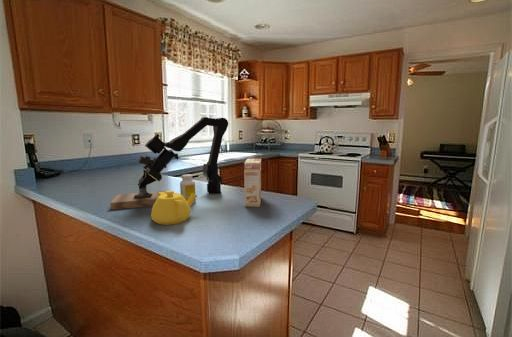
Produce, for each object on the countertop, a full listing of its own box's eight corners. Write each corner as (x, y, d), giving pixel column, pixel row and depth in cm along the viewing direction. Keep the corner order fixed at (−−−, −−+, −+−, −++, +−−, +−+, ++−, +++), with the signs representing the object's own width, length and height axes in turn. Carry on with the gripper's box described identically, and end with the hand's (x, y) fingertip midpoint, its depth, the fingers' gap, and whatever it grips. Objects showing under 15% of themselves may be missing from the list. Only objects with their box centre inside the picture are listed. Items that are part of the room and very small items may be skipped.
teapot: (211, 218, 101) (210, 190, 99) (165, 232, 88) (163, 200, 86) (184, 206, 115) (183, 182, 113) (142, 217, 102) (140, 189, 101)
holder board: (170, 196, 132) (170, 190, 131) (170, 204, 118) (169, 198, 118) (118, 200, 125) (117, 194, 124) (111, 209, 111) (110, 202, 111)
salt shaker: (136, 201, 123) (134, 176, 121) (149, 199, 126) (147, 174, 123) (137, 204, 118) (135, 178, 116) (151, 202, 120) (149, 177, 118)
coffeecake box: (260, 206, 115) (260, 162, 111) (243, 206, 115) (243, 162, 112) (261, 197, 129) (261, 158, 126) (247, 197, 130) (246, 158, 127)
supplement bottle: (198, 201, 123) (197, 174, 121) (189, 205, 117) (188, 177, 115) (187, 199, 126) (186, 173, 124) (177, 203, 120) (176, 175, 118)
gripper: (145, 147, 127) (122, 172, 124) (152, 150, 111) (125, 179, 108) (163, 162, 133) (142, 186, 129) (172, 167, 117) (147, 194, 113)
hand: (139, 186), depth 120 cm, fingers open, 4 cm apart
